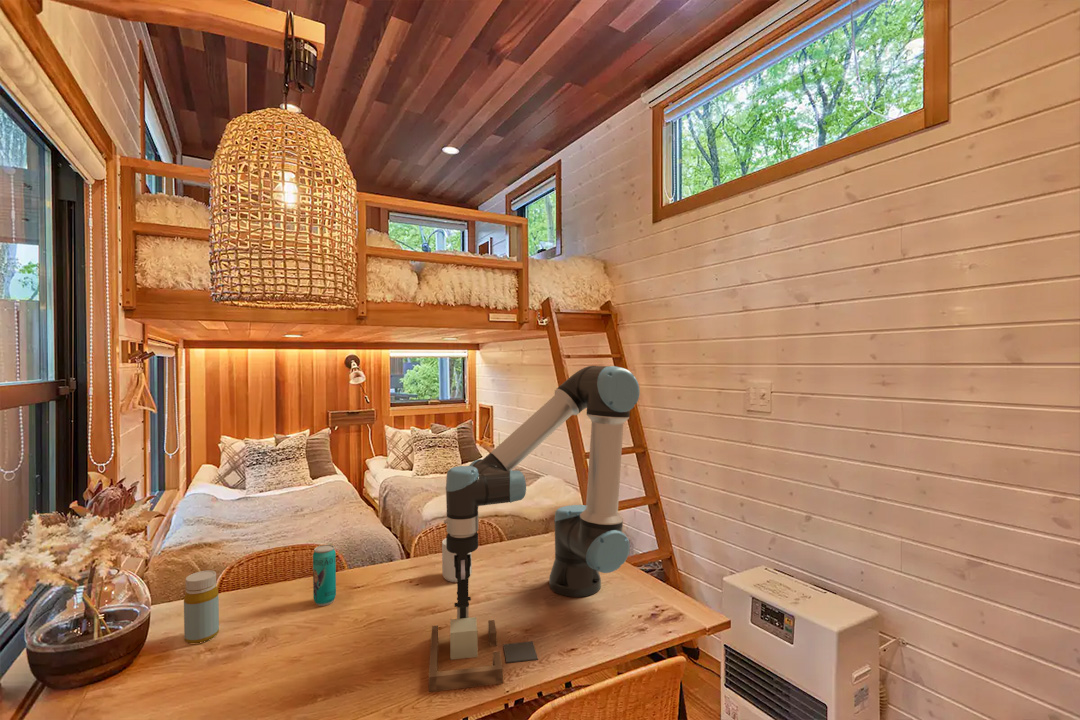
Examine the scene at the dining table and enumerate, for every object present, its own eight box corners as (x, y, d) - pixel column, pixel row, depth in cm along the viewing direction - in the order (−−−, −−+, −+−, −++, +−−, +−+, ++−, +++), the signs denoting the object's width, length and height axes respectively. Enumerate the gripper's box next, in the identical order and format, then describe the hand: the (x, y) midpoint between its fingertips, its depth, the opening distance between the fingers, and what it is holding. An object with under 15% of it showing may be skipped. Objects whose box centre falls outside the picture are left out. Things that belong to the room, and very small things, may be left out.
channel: (494, 632, 127) (494, 619, 127) (502, 683, 107) (502, 668, 107) (432, 638, 124) (431, 625, 124) (428, 691, 104) (428, 677, 104)
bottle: (225, 632, 127) (224, 571, 127) (198, 647, 121) (197, 583, 121) (205, 627, 130) (204, 568, 130) (177, 642, 123) (176, 579, 123)
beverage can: (308, 605, 141) (308, 550, 141) (324, 595, 146) (324, 543, 146) (325, 608, 139) (324, 553, 139) (340, 599, 144) (340, 545, 144)
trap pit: (532, 642, 122) (532, 641, 122) (537, 659, 115) (537, 658, 115) (503, 645, 121) (503, 644, 121) (506, 663, 114) (506, 661, 114)
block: (476, 642, 122) (476, 617, 122) (477, 656, 116) (477, 630, 116) (450, 644, 121) (450, 619, 121) (450, 659, 115) (450, 632, 115)
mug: (472, 582, 155) (471, 545, 154) (442, 584, 153) (441, 547, 153) (470, 565, 166) (470, 531, 166) (442, 567, 165) (442, 533, 165)
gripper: (446, 524, 129) (447, 618, 129) (446, 543, 116) (446, 647, 117) (476, 522, 130) (477, 615, 131) (479, 541, 118) (479, 644, 118)
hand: (462, 630), depth 124 cm, fingers closed
